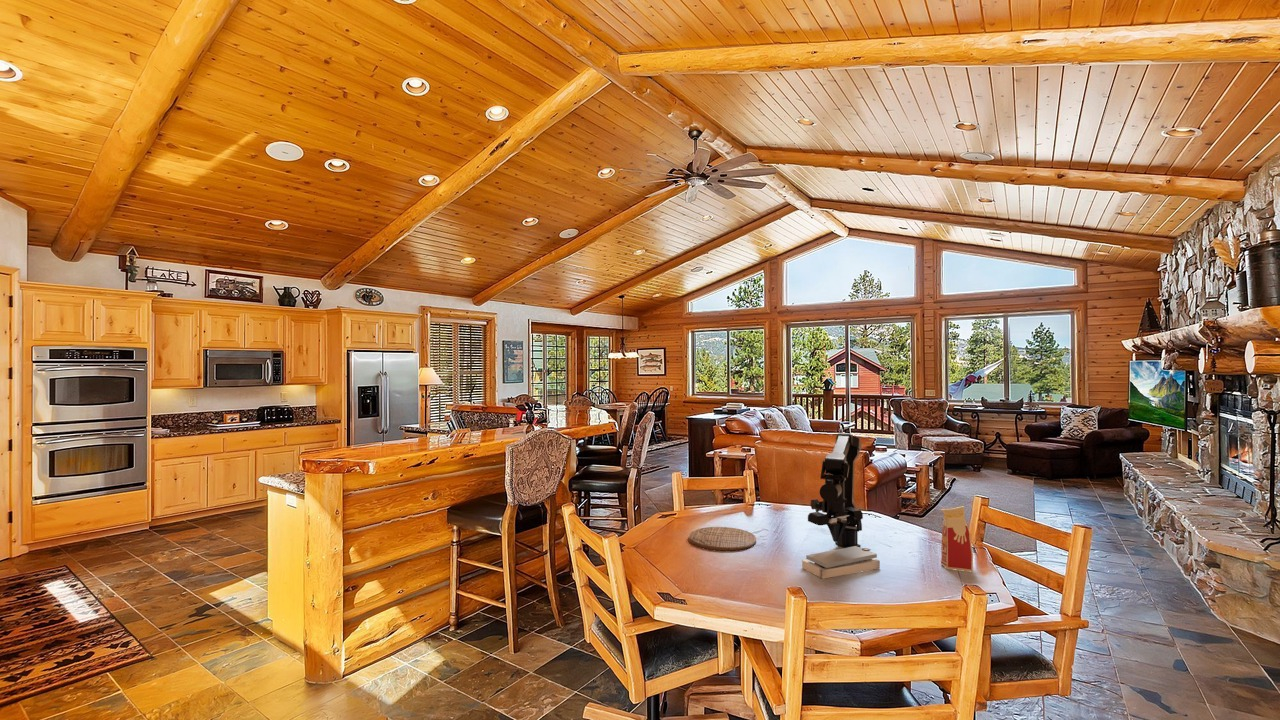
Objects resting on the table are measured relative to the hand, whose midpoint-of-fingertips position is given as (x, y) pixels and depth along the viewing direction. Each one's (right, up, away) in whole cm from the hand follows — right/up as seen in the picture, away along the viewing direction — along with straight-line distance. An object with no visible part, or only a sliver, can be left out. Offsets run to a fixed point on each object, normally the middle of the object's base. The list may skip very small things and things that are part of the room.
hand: (835, 541), depth 191 cm
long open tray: (0, -7, -4) cm, 8 cm away
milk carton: (+39, -8, -2) cm, 40 cm away
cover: (+1, -4, -4) cm, 6 cm away
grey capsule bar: (-2, -5, -5) cm, 8 cm away
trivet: (-34, -8, +25) cm, 43 cm away
